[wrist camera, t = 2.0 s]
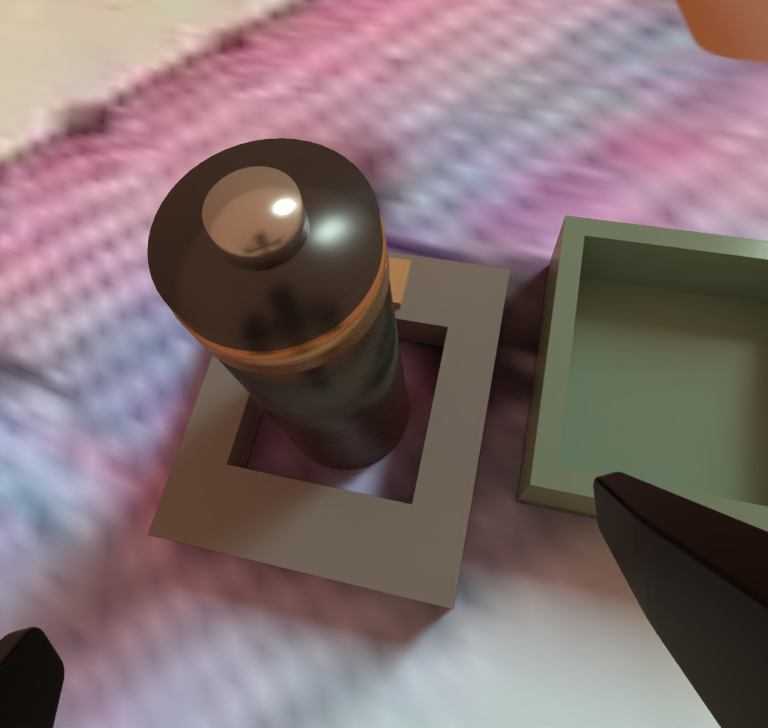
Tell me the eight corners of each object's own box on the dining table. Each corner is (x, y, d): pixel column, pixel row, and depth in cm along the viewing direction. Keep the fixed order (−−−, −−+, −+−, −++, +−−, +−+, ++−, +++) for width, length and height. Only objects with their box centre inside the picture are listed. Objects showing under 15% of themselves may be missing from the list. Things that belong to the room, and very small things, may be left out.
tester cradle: (452, 608, 20) (453, 609, 18) (172, 539, 22) (142, 533, 20) (504, 293, 25) (511, 264, 23) (268, 258, 27) (253, 227, 25)
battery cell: (395, 482, 22) (343, 342, 10) (272, 457, 23) (85, 298, 11) (420, 364, 24) (403, 122, 12) (306, 344, 25) (178, 98, 13)
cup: (823, 565, 20) (898, 559, 17) (516, 501, 22) (529, 484, 18) (810, 300, 24) (868, 253, 20) (549, 264, 25) (565, 215, 22)
